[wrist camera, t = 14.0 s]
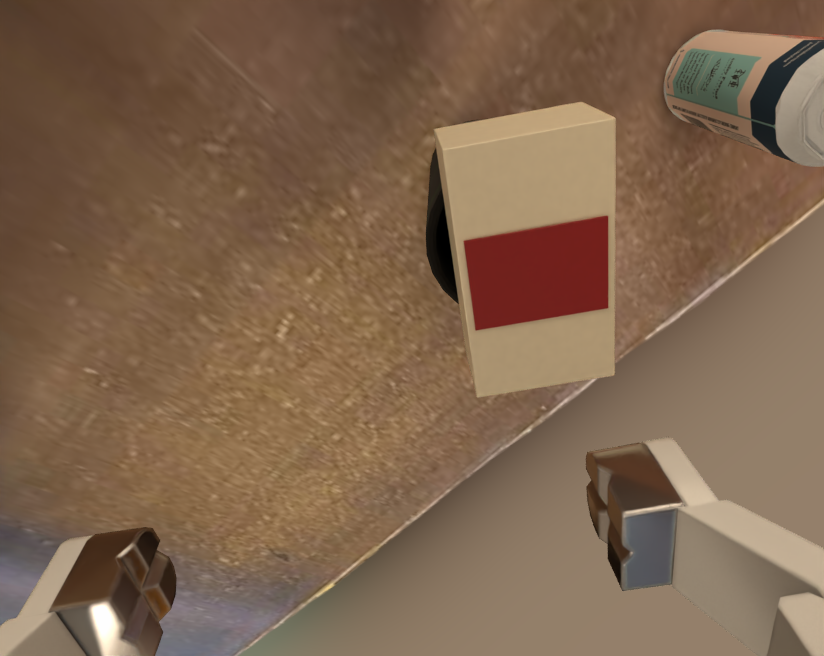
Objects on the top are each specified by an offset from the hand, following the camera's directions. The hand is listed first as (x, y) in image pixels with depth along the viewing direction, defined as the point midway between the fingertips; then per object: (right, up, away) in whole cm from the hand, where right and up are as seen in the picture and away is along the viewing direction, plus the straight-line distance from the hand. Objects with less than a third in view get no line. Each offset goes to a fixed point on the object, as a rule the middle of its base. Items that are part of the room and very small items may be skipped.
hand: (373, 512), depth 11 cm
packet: (+5, +7, +13) cm, 16 cm away
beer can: (+17, +18, +22) cm, 33 cm away
